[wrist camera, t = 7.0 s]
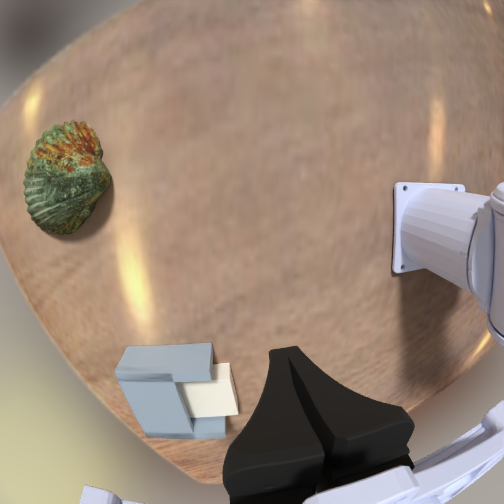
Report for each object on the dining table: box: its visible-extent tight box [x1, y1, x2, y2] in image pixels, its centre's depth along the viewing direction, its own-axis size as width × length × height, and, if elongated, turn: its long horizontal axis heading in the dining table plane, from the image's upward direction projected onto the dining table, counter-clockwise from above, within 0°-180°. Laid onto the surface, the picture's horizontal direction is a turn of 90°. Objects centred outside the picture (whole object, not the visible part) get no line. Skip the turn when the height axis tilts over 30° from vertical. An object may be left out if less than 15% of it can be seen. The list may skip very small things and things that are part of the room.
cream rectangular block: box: [177, 363, 238, 418], centre depth 23 cm, size 8×5×3 cm, turn 97°
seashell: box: [23, 120, 111, 235], centre depth 17 cm, size 10×4×10 cm
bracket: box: [114, 343, 226, 439], centre depth 22 cm, size 8×9×4 cm
